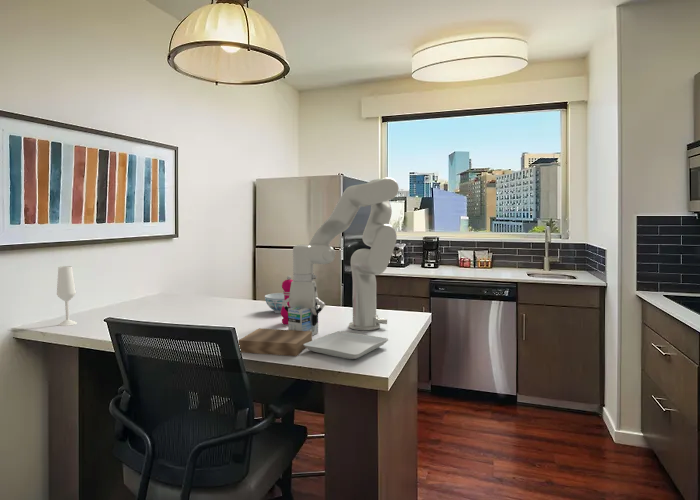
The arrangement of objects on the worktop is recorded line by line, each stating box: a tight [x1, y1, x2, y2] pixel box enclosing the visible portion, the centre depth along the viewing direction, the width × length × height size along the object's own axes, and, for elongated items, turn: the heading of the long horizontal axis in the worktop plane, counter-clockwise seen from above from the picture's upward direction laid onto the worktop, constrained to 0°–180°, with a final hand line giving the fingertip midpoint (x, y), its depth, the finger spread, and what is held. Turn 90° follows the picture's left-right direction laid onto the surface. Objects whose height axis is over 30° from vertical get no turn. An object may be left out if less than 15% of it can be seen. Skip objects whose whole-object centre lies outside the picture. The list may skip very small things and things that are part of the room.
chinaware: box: [264, 292, 284, 314], centre depth 206 cm, size 15×15×8 cm
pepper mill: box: [280, 275, 293, 326], centre depth 183 cm, size 7×7×20 cm
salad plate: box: [303, 330, 389, 360], centre depth 146 cm, size 21×21×3 cm
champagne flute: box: [56, 265, 78, 327], centre depth 182 cm, size 7×7×24 cm
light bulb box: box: [287, 305, 319, 336], centre depth 164 cm, size 11×7×11 cm, turn 149°
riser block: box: [238, 327, 313, 357], centre depth 149 cm, size 20×16×4 cm
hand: (303, 324), depth 164 cm, fingers closed on light bulb box, 8 cm apart
